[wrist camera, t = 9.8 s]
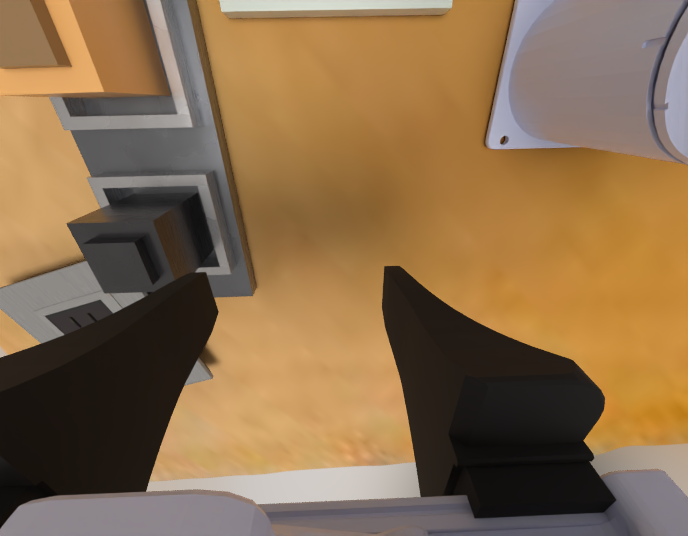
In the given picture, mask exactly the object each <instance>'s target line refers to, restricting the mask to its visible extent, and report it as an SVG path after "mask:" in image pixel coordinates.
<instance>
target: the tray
mask: <svg viewBox="0 0 688 536" xmlns="http://www.w3.org/2000/svg"><path fill="white" fill-rule="evenodd" d="M219 1H220V6H221V12H222V13H224V14H225V15H226V16H227V17H229V18H283V17H341V16H400V15H444V14H445V13H446V12H447V11H448V10H450V9H451V8H452V0H219Z"/></svg>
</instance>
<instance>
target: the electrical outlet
mask: <svg viewBox="0 0 688 536" xmlns="http://www.w3.org/2000/svg"><path fill="white" fill-rule="evenodd" d="M147 295H149V294H148V293H147V292H138V293H107V294H104V292H103V290H102V288H101V286H100V285H99V283H98V281H97V279H96V277H95V275H94V274H93V272H92V270H91V268H90V266H89V264H88V263H87V261H86V260H85V261H82V262H79V263H76V264H73V265H70V266H67V267H63V268H60V269H57V270H54V271H51V272H48V273H45V274H42V275H38V276H35V277H32V278H29V279H26V280H23V281H20V282H16V283H13V284H10V285H7V286H4V287H1V288H0V309H1V310H2V311H4V312H5V313H6V314H7V315H8V316H9V317H11V318H12V319H13V320H14V321H15V322H17V323H18V324H19V325H20V326H21V327H22V328H24V329H25V330H26V331H27V332H28V333H29V334H31V335H32V336H33V337H34V338H35V339H37V340H38V341H39V342H40V343H41V344H42V343H44V342H47V341H50V340H52V339H55V338H57V337H60V336H63V335H65V334H68V333H71V332H73V331H75V330H78V329H80V328H82V327H85V326H87V325H89V324H92V323H94V322H96V321H98V320H100V319H103V318H105V317H107V316H109V315H111V314H113V313H115V312H117V311H119V310H121V309H123V308H125V307H126V306H128V305H130V304H132V303H134V302H136V301H138V300H140V299H142V298H144V297H145V296H147ZM212 378H213V375H212V373H211V371H210V370H209V369H208V367H207V366H206V365H205V364H204V362H203V361H202V360H201V359H200V357H199V358H198V360H197V362H196V364H195V366H194V368H193V369H192V371H191V373H190V375H189V377H188V379H187V381H186V383H185V385H189V384H193V383H197V382H201V381H205V380H209V379H212Z"/></svg>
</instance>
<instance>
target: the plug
mask: <svg viewBox="0 0 688 536" xmlns="http://www.w3.org/2000/svg"><path fill="white" fill-rule="evenodd" d="M0 96H33V97H68V98H118V97H147V96H171V95H170V92H169V88H168V85H167V81H166V78H165V74H164V71H163V67H162V64H161V61H160V57H159V54H158V50H157V47H156V43H155V40H154V36H153V33H152V29H151V26H150V22H149V19H148V16H147V12H146V9H145V5H144V2H143V0H0Z"/></svg>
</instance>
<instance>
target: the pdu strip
mask: <svg viewBox="0 0 688 536" xmlns="http://www.w3.org/2000/svg"><path fill="white" fill-rule="evenodd" d="M143 2H144V5H145V9H146V12H147V16H148V19H149V22H150V26H151V29H152V33H153V36H154V40H155V43H156V47H157V50H158V54H159V57H160V61H161V64H162V67H163V71H164V74H165V78H166V81H167V85H168V88H169V92H170V95H171V96H147V97H118V98H68V97H49V98H50V100H51V102H52V104H53V106H54V109H55V111H56V113H57V115H58V117H59V119H60V121H61V124H62V126H63V128H64V130H70V131H71V133H72V135H73V137H74V139H75V142H76V144H77V146H78V148H79V150H80V153H81V155H82V157H83V159H84V161H85V163H86V166H87V168H88V170H89V172H90V174H91V177H87V179H88V182H89V184H90V186H91V188H92V190H93V192H94V195H95V197H96V199H97V201H98V203H99V205H100V207H101V208H100V209H98V210H96V211H94V212H91V213H89V214H87V215H85V216H82V217H80V218H78V219H76V220H73V221H71V222H69V223H66V224H67V226H68V228H69V229H70V231H71V233H72V235H73V237H74V239H75V240H76V242H77V244H78V246H79V248H80V250H81V252H82V253H83V255H84V257H85V259H86V261H87V263H88V264H89V266H90V268H91V270H92V272H93V274H94V275H95V277H96V279H97V281H98V283H99V285H100V286H101V288H102V290H103V292H104V294H107V293H138V292H147V293H148V294H151V293H153V292H154V291H156V290H158V289H160V288H161V287H163V286H165V285H167V284H169V283H170V282H172V281H174V280H176V279H178V278H180V277H182V276H184V275H186V274H188V273H191V272H206V273H207V277H208V280H209V283H210V286H211V290H212V293H213V296H214V297H238V296H253V294H254V292H255V290H256V282H255V278H254V273H253V268H252V263H251V259H250V254H249V249H248V244H247V239H246V235H245V230H244V225H243V220H242V216H241V211H240V206H239V201H238V197H237V192H236V187H235V182H234V178H233V173H232V168H231V163H230V159H229V154H228V149H227V144H226V140H225V135H224V130H223V125H222V121H221V116H220V111H219V106H218V102H217V97H216V92H215V87H214V83H213V78H212V73H211V68H210V64H209V59H208V54H207V49H206V45H205V40H204V35H203V30H202V26H201V21H200V16H199V11H198V7H197V2H196V0H143Z"/></svg>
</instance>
